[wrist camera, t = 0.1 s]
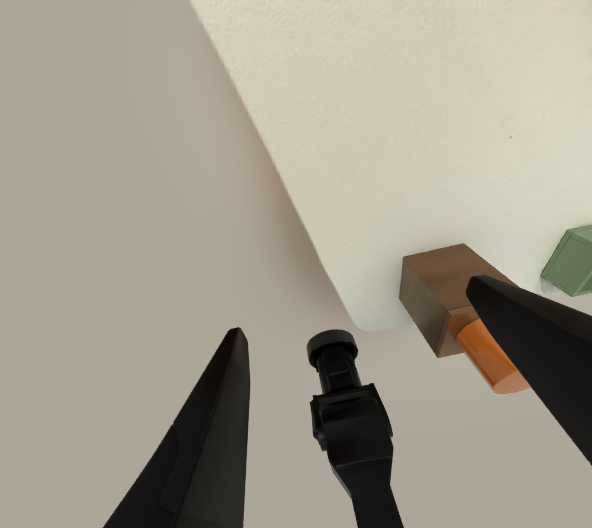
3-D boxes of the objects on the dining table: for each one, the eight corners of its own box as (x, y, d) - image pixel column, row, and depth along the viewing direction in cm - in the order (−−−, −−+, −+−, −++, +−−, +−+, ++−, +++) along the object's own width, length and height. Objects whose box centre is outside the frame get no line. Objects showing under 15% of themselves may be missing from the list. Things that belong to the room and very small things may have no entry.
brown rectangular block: (451, 286, 27) (504, 344, 21) (399, 298, 27) (437, 358, 21) (463, 243, 23) (533, 297, 17) (403, 256, 23) (451, 315, 17)
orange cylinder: (497, 340, 20) (540, 387, 17) (451, 350, 20) (485, 398, 17) (514, 309, 18) (569, 358, 15) (461, 321, 18) (504, 371, 15)
